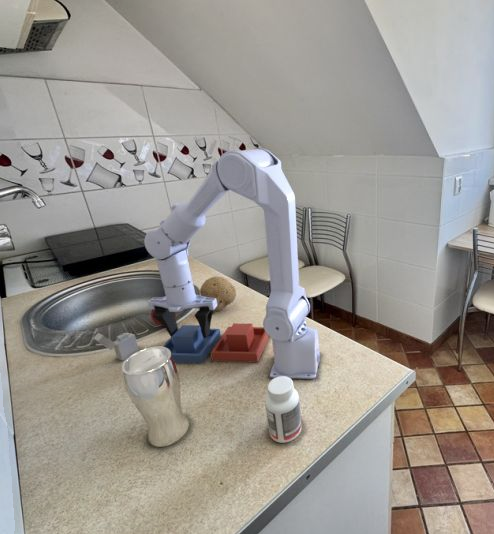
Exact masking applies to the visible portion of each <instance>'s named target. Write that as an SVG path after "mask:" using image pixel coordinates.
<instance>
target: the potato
mask: <svg viewBox="0 0 494 534" xmlns="http://www.w3.org/2000/svg"><path fill="white" fill-rule="evenodd" d="M199 290H200V292H199V293H200V296H204V297H209V298H216V301H217V307H216V308H215V309H214V311H213V312H221V311H222V310H224V309H225V308H226V307H227V306H228V305H231V304H232V303H233V302H234V301H235V300H236V296H237V290H236V287H235V286H234V285H233V283H232V282H230V281H229V279H227V278H225V277H223V276H212V277H209V278H208V279H206V280H205V281H204V282H203V283H202V285H200V289H199Z"/></svg>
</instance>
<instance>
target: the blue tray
mask: <svg viewBox="0 0 494 534" xmlns="http://www.w3.org/2000/svg"><path fill="white" fill-rule="evenodd" d="M221 337H222V335H221V328H210V334H209V335H208V336H207V338H204V341H205V342H204V343H203V344H202V346H201V347H200V348H199V350H198V351H197V353H196V354H189V353H176V350H175V347H174V343H173V339H172V337H171V336H170V337H169V339H167V341H166V342H165V343H164V344H163V345H162V347H166V348H168V349H169V350H170V351H171V354H172V357H173V359H174V362H175V364H200V365H201V364H203V363H204V362H205V360H206V359H207V358H208V356H209V355H210V354H211V352H212V350H213V349H214V347H215V346H216V344H217V343H218V341H219V340H220V338H221Z"/></svg>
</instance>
